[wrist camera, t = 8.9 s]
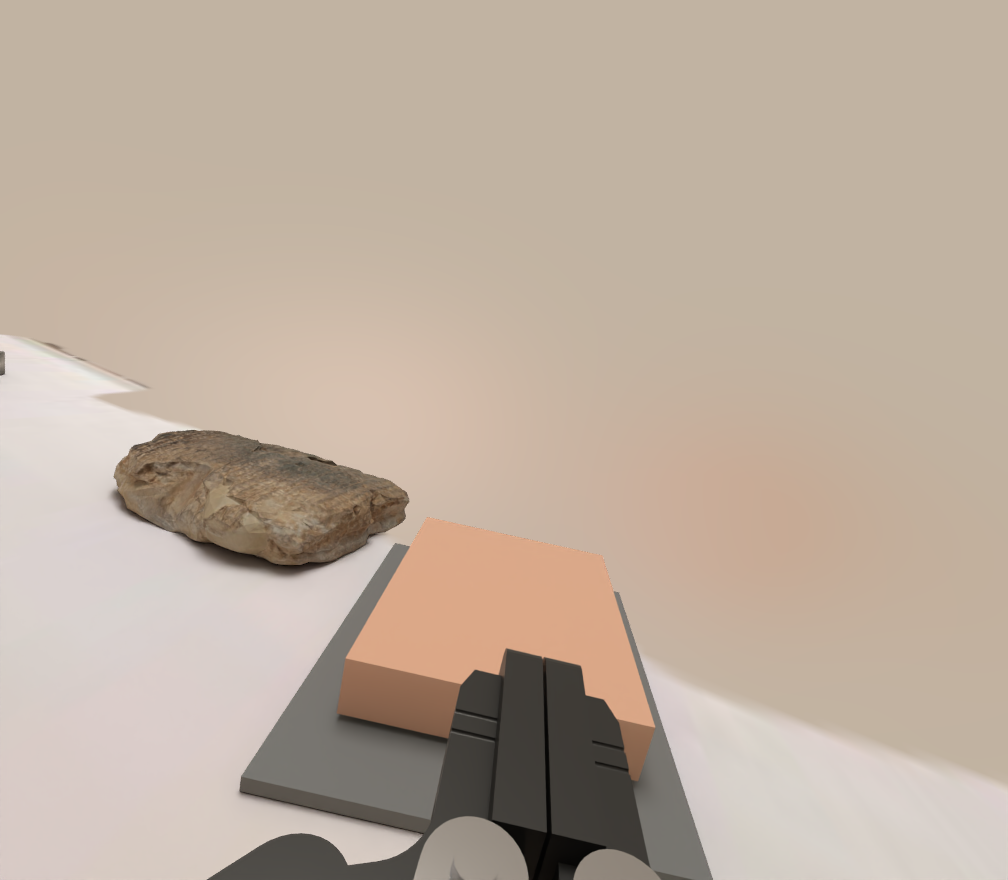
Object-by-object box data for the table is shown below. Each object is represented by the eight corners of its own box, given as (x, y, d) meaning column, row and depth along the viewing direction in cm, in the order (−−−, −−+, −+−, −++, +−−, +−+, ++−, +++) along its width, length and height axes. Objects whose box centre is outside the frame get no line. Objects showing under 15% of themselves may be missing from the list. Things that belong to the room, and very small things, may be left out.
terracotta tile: (345, 658, 19) (427, 517, 34) (335, 719, 20) (420, 554, 34) (655, 727, 19) (602, 555, 34) (635, 787, 20) (592, 592, 34)
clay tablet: (51, 493, 34) (287, 594, 28) (54, 423, 33) (298, 512, 27) (227, 462, 47) (412, 525, 41) (232, 411, 46) (423, 468, 40)
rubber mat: (239, 791, 17) (241, 776, 17) (393, 550, 35) (395, 543, 35) (709, 898, 17) (714, 884, 16) (616, 600, 35) (618, 592, 35)
